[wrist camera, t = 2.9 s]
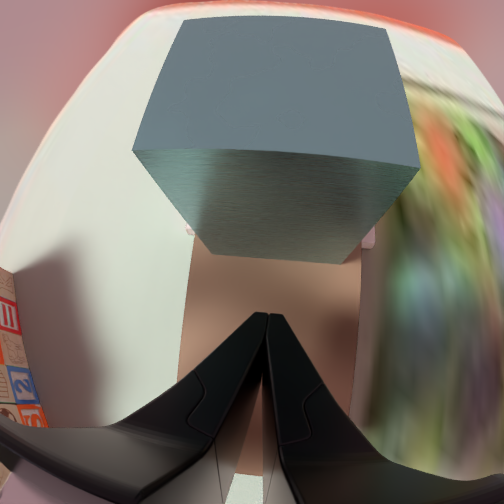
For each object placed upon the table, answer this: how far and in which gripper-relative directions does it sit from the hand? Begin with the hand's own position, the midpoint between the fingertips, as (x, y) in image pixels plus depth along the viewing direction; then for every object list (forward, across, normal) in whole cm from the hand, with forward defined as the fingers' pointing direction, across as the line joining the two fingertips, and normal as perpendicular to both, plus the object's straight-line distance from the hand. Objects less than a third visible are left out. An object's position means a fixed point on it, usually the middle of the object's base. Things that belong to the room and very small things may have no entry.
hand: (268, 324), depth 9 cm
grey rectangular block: (+7, 0, -2) cm, 7 cm away
